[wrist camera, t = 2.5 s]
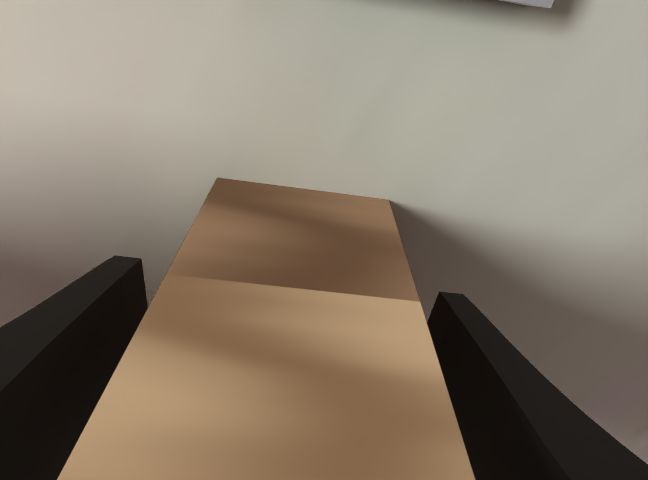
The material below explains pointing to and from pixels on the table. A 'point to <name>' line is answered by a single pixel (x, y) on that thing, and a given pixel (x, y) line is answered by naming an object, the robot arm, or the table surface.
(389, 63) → the table surface
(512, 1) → the plate
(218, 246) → the tan block
